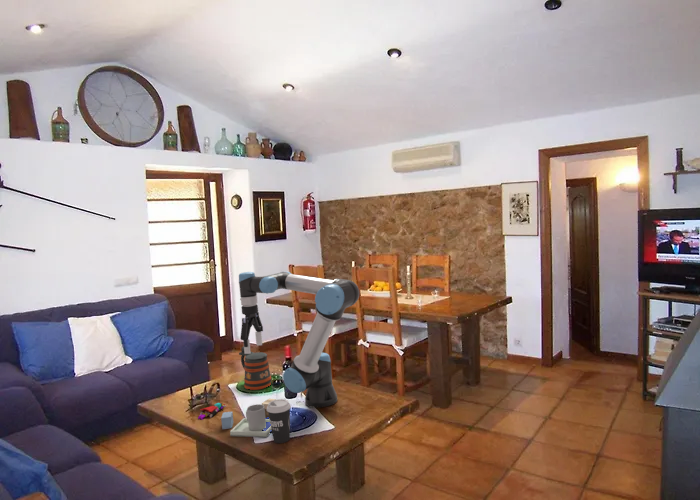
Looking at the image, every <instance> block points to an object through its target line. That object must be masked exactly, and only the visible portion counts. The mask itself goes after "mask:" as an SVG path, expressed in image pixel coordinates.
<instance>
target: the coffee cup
mask: <svg viewBox="0 0 700 500" xmlns="http://www.w3.org/2000/svg"><path fill="white" fill-rule="evenodd" d="M291 408H292V405H291V403H290V402H289V400H288V399H285V398H279V399H276V400H273V401H271V402H269V404H268V406H267V411H268V414H269V419H270V424H271V430H272V432H271V435H272V440H273V442H274V443H276V444H284V443H287V442H289V441H290V440H291V425H290V424H291V422H290V421H291V417H290V416H291V414H290V413H291Z"/></svg>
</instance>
